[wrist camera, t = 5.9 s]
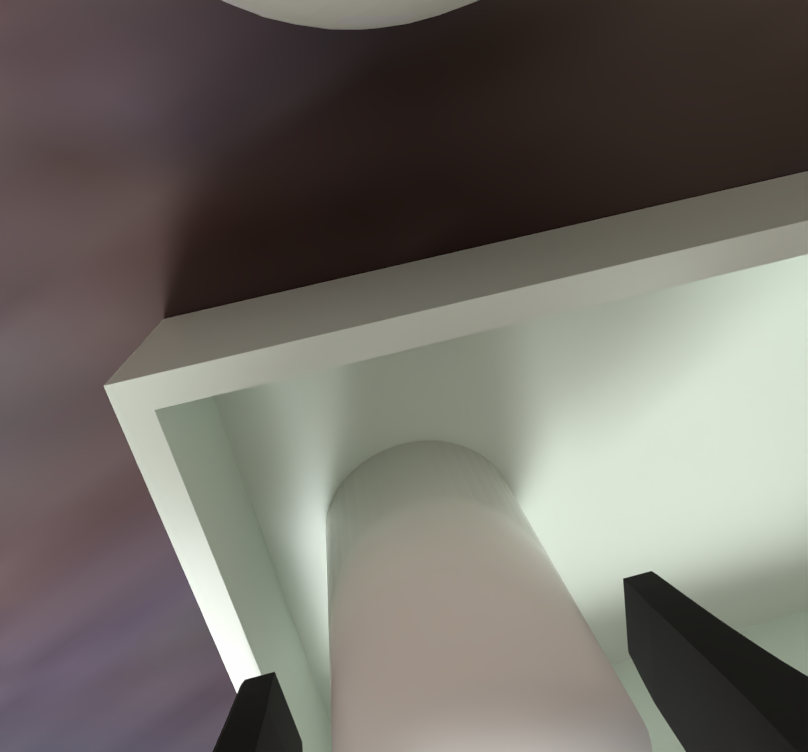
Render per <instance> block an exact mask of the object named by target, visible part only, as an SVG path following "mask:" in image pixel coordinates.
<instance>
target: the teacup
mask: <svg viewBox="0 0 808 752" xmlns="http://www.w3.org/2000/svg"><path fill="white" fill-rule="evenodd" d="M222 1H224V2H226V3H229V4H231V5H233V6H236V7H239V8H241V9H244V10H247V11H249V12H252V13H255V14H257V15H260V16H262V17H265V18H270V19H274V20H279V21H283V22H287V23H292V24H297V25H304V26H311V27H318V28H325V29H343V30H361V29H374V28H383V27H390V26H397V25H403V24H409V23H413V22H416V21H420V20H423V19H427V18H431V17H434V16H438V15H441V14H444V13H447V12H449V11H452V10H455V9H457V8H460V7H463V6H466V5H468V4H471V3H474V2H476V1H478V0H222Z"/></svg>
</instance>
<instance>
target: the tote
mask: <svg viewBox="0 0 808 752" xmlns="http://www.w3.org/2000/svg"><path fill="white" fill-rule="evenodd" d="M104 388H105V390H106V393H107V395H108V397H109V400H110V402H111V404H112V406H113V409H114V411H115V413H116V416H117V418H118V420H119V423H120V425H121V427H122V429H123V432H124V434H125V436H126V439H127V441H128V443H129V446H130V448H131V450H132V453H133V455H134V457H135V459H136V462H137V464H138V466H139V469H140V471H141V473H142V476H143V478H144V480H145V482H146V485H147V487H148V489H149V492H150V494H151V496H152V499H153V501H154V503H155V506H156V508H157V510H158V512H159V515H160V517H161V519H162V522H163V524H164V526H165V529H166V531H167V533H168V535H169V538H170V540H171V542H172V545H173V547H174V549H175V552H176V554H177V556H178V559H179V561H180V563H181V565H182V568H183V570H184V572H185V575H186V577H187V579H188V582H189V584H190V586H191V589H192V591H193V593H194V595H195V598H196V600H197V602H198V605H199V607H200V609H201V612H202V614H203V616H204V618H205V621H206V623H207V625H208V628H209V630H210V632H211V635H212V637H213V639H214V642H215V644H216V646H217V648H218V651H219V653H220V655H221V658H222V660H223V662H224V665H225V667H226V669H227V671H228V674H229V676H230V678H231V681H232V683H233V685H234V688H235V690H236V692H237V693H238V690H239V688H240V685H241V684H242V683H243V681H244V680H245V679H249V678H253V677H257V676H260V675H264V674H268V673H272V672H275V673H276V676H277V678H278V681H279V684H280V686H281V689H282V691H283V694H284V696H285V699H286V701H287V704H288V707H289V709H290V712H291V714H292V717H293V719H294V722H295V724H296V727H297V730H298V732H299V735H300V737H301V740H302V747H303V752H332V732H331V698H330V664H329V630H328V596H327V561H326V520H327V514H328V510H329V507H330V504H331V501H332V499H333V497H334V495H335V493H336V491H337V490H338V488H339V487H340V485H341V484H342V482H343V481H344V480H345V479H346V478H347V477H348V475H349V474H350V473H351V472H352V471H353V470H354V469H356V468H357V467H358V466H359V465H360V464H361V463H363V462H364V461H366V460H367V459H369V458H370V457H372V456H373V455H375V454H377V453H379V452H381V451H383V450H385V449H388V448H391V447H394V446H396V445H400V444H404V443H409V442H415V441H444V442H450V443H454V444H458V445H461V446H464V447H467V448H469V449H472V450H473V451H475V452H477V453H479V454H480V455H482V456H483V457H485V458H486V459H487V460H489V461H490V462H491V463H492V464H493V465H494V466H495V467H496V468H497V469H498V470H499V472H500V473H501V475H502V476H503V478H504V479H505V481H506V483H507V484H508V486H509V488H510V490H511V491H512V493H513V495H514V497H515V498H516V500H517V502H518V504H519V505H520V507H521V509H522V510H523V512H524V514H525V516H526V517H527V519H528V521H529V523H530V524H531V526H532V528H533V530H534V531H535V533H536V535H537V537H538V538H539V540H540V542H541V543H542V545H543V547H544V549H545V550H546V552H547V554H548V556H549V557H550V559H551V561H552V563H553V564H554V566H555V568H556V570H557V571H558V573H559V575H560V577H561V578H562V580H563V582H564V583H565V585H566V587H567V589H568V590H569V592H570V594H571V596H572V597H573V599H574V601H575V603H576V604H577V606H578V608H579V610H580V611H581V613H582V615H583V616H584V618H585V620H586V622H587V623H588V625H589V627H590V629H591V630H592V632H593V634H594V636H595V637H596V639H597V641H598V643H599V644H600V646H601V648H602V650H603V651H604V653H605V655H606V656H607V658H608V660H609V662H610V663H611V665H612V667H613V669H614V670H615V672H616V674H617V676H618V677H619V679H620V681H621V683H622V684H623V686H624V688H625V690H626V691H627V693H628V695H629V696H630V698H631V700H632V702H633V703H634V705H635V707H636V709H637V710H638V712H639V714H640V716H641V717H642V719H643V721H644V723H645V725H646V728H647V730H648V732H649V735H650V740H651V744H652V752H686V751H685V750H684V748H683V746H682V745H681V743H680V742H679V740H678V739H677V737H676V736H675V734H674V733H673V731H672V730H671V728H670V727H669V725H668V723H667V722H666V720H665V719H664V717H663V716H662V714H661V713H660V711H659V709H658V708H657V706H656V705H655V703H654V701H653V700H652V698H651V696H650V694H649V692H648V690H647V688H646V686H645V684H644V682H643V681H642V679H641V677H640V675H639V673H638V671H637V669H636V667H635V665H634V663H633V661H632V659H631V657H630V655H629V653H628V643H627V628H626V614H625V600H624V585H623V578H627V577H631V576H635V575H638V574H642V573H646V572H650V571H652V572H654V573H655V574H657V575H658V576H660V577H661V578H663V579H664V580H665V581H667V582H668V583H669V584H671V585H672V586H674V587H675V588H676V589H678V590H679V591H680V592H682V593H683V594H685V595H686V596H687V597H689V598H690V599H692V600H693V601H694V602H696V603H697V604H698V605H700V606H701V607H703V608H704V609H706V610H707V611H708V612H710V613H711V614H713V615H714V616H715V617H717V618H718V619H720V620H721V621H723V622H724V623H726V624H727V625H728V626H730V627H731V628H733V629H734V630H736V631H737V632H739V633H740V634H742V635H743V636H745V637H746V638H748V639H749V640H751V641H752V642H754V643H755V644H757V645H758V646H760V647H761V648H763V649H765V650H766V651H768V652H769V653H771V654H772V655H774V656H776V657H777V658H779V659H780V660H782V661H783V662H785V663H787V664H788V665H790V666H792V667H793V668H795V669H797V670H798V671H800V672H801V673H803V674H805V675H806V676H808V171H806V172H801V173H797V174H793V175H788V176H784V177H780V178H775V179H771V180H767V181H762V182H758V183H753V184H749V185H745V186H740V187H736V188H732V189H727V190H723V191H719V192H714V193H710V194H706V195H701V196H697V197H692V198H688V199H684V200H679V201H675V202H671V203H666V204H662V205H658V206H653V207H649V208H645V209H640V210H636V211H632V212H627V213H623V214H618V215H614V216H610V217H605V218H601V219H597V220H592V221H588V222H584V223H579V224H575V225H571V226H566V227H562V228H558V229H553V230H549V231H544V232H540V233H536V234H531V235H527V236H523V237H518V238H514V239H510V240H505V241H501V242H497V243H492V244H488V245H483V246H479V247H475V248H470V249H466V250H462V251H457V252H453V253H449V254H444V255H440V256H436V257H431V258H427V259H423V260H418V261H414V262H409V263H405V264H401V265H396V266H392V267H388V268H383V269H379V270H375V271H370V272H366V273H362V274H357V275H353V276H349V277H344V278H340V279H335V280H331V281H327V282H322V283H318V284H314V285H309V286H305V287H301V288H296V289H292V290H288V291H283V292H279V293H275V294H270V295H266V296H261V297H257V298H253V299H248V300H244V301H240V302H235V303H231V304H227V305H222V306H218V307H214V308H209V309H205V310H200V311H196V312H192V313H187V314H183V315H179V316H174V317H170V318H166V319H163V320H162V321H161V322H160V323H159V324H158V325H157V326H156V328H155V329H154V330H153V331H152V332H151V333H150V334H149V335H148V337H147V338H146V339H145V340H144V341H143V342H142V343H141V344H140V346H139V347H138V348H137V349H136V350H135V351H134V352H133V353H132V355H131V356H130V357H129V358H128V359H127V360H126V361H125V362H124V364H123V365H122V366H121V367H120V368H119V369H118V370H117V371H116V372H115V374H114V375H113V376H112V377H111V378H110V379H109V380H108V381H107V383H106V384H105V385H104Z"/></svg>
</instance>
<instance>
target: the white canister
mask: <svg viewBox="0 0 808 752" xmlns="http://www.w3.org/2000/svg"><path fill="white" fill-rule="evenodd" d="M326 561H327V596H328V630H329V664H330V698H331V732H332V752H652V744H651V740H650V735H649V732H648V730H647V728H646V725H645V723H644V721H643V719H642V717H641V716H640V714H639V712H638V710H637V709H636V707H635V705H634V703H633V702H632V700H631V698H630V696H629V695H628V693H627V691H626V690H625V688H624V686H623V684H622V683H621V681H620V679H619V677H618V676H617V674H616V672H615V670H614V669H613V667H612V665H611V663H610V662H609V660H608V658H607V656H606V655H605V653H604V651H603V650H602V648H601V646H600V644H599V643H598V641H597V639H596V637H595V636H594V634H593V632H592V630H591V629H590V627H589V625H588V623H587V622H586V620H585V618H584V616H583V615H582V613H581V611H580V610H579V608H578V606H577V604H576V603H575V601H574V599H573V597H572V596H571V594H570V592H569V590H568V589H567V587H566V585H565V583H564V582H563V580H562V578H561V577H560V575H559V573H558V571H557V570H556V568H555V566H554V564H553V563H552V561H551V559H550V557H549V556H548V554H547V552H546V550H545V549H544V547H543V545H542V543H541V542H540V540H539V538H538V537H537V535H536V533H535V531H534V530H533V528H532V526H531V524H530V523H529V521H528V519H527V517H526V516H525V514H524V512H523V510H522V509H521V507H520V505H519V504H518V502H517V500H516V498H515V497H514V495H513V493H512V491H511V490H510V488H509V486H508V484H507V483H506V481H505V479H504V478H503V476H502V475H501V473H500V472H499V470H498V469H497V468H496V467H495V466H494V465H493V464H492V463H491V462H490V461H489V460H487V459H486V458H485V457H483V456H482V455H480V454H479V453H477V452H475V451H473V450H472V449H469V448H467V447H464V446H461V445H458V444H454V443H450V442H444V441H415V442H409V443H404V444H400V445H396V446H394V447H391V448H388V449H385V450H383V451H381V452H379V453H377V454H375V455H373V456H372V457H370V458H369V459H367V460H366V461H364V462H363V463H361V464H360V465H359V466H358V467H357V468H356V469H354V470H353V471H352V472H351V473H350V474H349V475H348V477H347V478H346V479H345V480H344V481H343V482H342V484H341V485H340V487H339V488H338V490H337V491H336V493H335V495H334V497H333V499H332V501H331V504H330V507H329V510H328V514H327V520H326Z"/></svg>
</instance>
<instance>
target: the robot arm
mask: <svg viewBox="0 0 808 752" xmlns="http://www.w3.org/2000/svg"><path fill="white" fill-rule="evenodd" d="M623 585H624V600H625V614H626V628H627V643H628V653H629V655H630V657H631V659H632V661H633V663H634V665H635V667H636V669H637V671H638V673H639V675H640V677H641V679H642V681H643V682H644V684H645V686H646V688H647V690H648V692H649V694H650V696H651V698H652V700H653V701H654V703H655V705H656V706H657V708H658V709H659V711H660V713H661V714H662V716H663V717H664V719H665V720H666V722H667V723H668V725H669V727H670V728H671V730H672V731H673V733H674V734H675V736H676V737H677V739H678V740H679V742H680V743H681V745H682V746H683V748H684V750H685V751H686V752H808V676H806V675H805V674H803V673H801V672H800V671H798V670H797V669H795V668H793V667H792V666H790V665H788V664H787V663H785V662H783V661H782V660H780V659H779V658H777V657H776V656H774V655H772V654H771V653H769V652H768V651H766V650H765V649H763V648H761V647H760V646H758V645H757V644H755V643H754V642H752V641H751V640H749V639H748V638H746V637H745V636H743V635H742V634H740V633H739V632H737V631H736V630H734V629H733V628H731V627H730V626H728V625H727V624H726V623H724V622H723V621H721V620H720V619H718V618H717V617H715V616H714V615H713V614H711V613H710V612H708V611H707V610H706V609H704V608H703V607H701V606H700V605H698V604H697V603H696V602H694V601H693V600H692V599H690V598H689V597H687V596H686V595H685V594H683V593H682V592H680V591H679V590H678V589H676V588H675V587H674V586H672V585H671V584H669V583H668V582H667V581H665V580H664V579H663V578H661V577H660V576H658V575H657V574H655V573H654V572H652V571H650V572H646V573H642V574H638V575H635V576H631V577H627V578H623ZM213 752H303V747H302V740H301V737H300V735H299V732H298V730H297V727H296V724H295V722H294V719H293V717H292V714H291V712H290V709H289V707H288V704H287V701H286V699H285V696H284V694H283V691H282V689H281V686H280V684H279V681H278V678H277V676H276V673H275V672H272V673H268V674H264V675H260V676H257V677H253V678H249V679H245V680H244V681H243V683H242V684H241V685H240V688H239V690H238V693H237V695H236V698H235V700H234V703H233V705H232V708H231V710H230V712H229V715H228V717H227V720H226V722H225V724H224V727H223V729H222V731H221V734H220V736H219V738H218V741H217V743H216V745H215V747H214V750H213Z"/></svg>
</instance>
